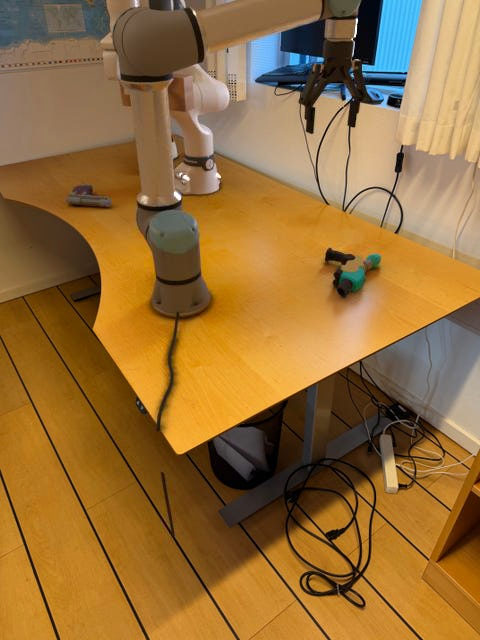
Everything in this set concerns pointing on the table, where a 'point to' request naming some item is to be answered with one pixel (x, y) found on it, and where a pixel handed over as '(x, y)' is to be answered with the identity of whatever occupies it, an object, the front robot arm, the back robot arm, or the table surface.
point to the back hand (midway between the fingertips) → (134, 92)
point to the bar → (173, 93)
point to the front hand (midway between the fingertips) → (330, 129)
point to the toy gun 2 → (350, 270)
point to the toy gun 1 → (87, 197)
